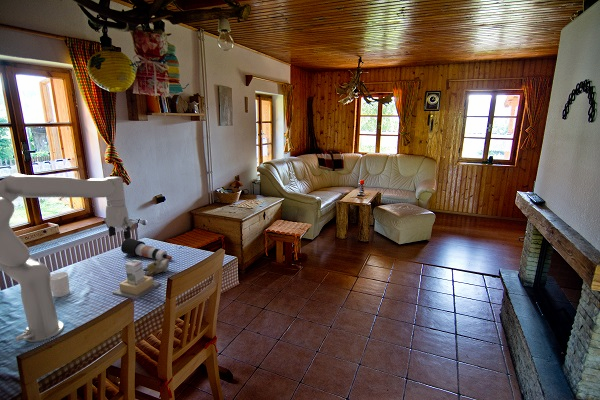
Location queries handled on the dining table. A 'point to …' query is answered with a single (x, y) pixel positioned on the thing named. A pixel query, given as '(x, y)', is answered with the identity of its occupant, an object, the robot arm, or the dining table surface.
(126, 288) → the socket
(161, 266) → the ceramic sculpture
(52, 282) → the white cup
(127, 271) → the syrup box
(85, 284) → the dining table surface
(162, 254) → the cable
